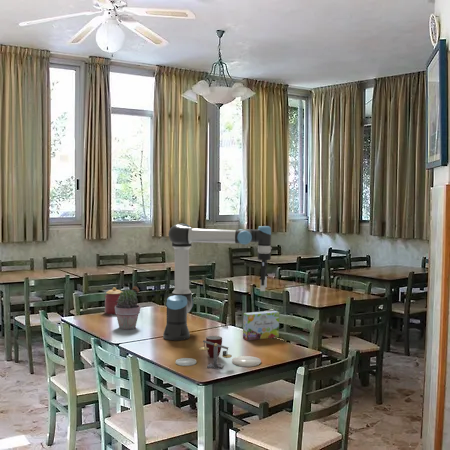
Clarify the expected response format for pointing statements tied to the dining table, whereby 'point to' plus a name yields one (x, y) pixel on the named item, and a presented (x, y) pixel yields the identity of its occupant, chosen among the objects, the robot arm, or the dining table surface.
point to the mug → (211, 347)
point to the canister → (111, 300)
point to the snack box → (261, 325)
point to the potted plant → (127, 309)
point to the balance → (215, 365)
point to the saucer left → (185, 361)
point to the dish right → (246, 361)
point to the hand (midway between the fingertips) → (263, 289)
